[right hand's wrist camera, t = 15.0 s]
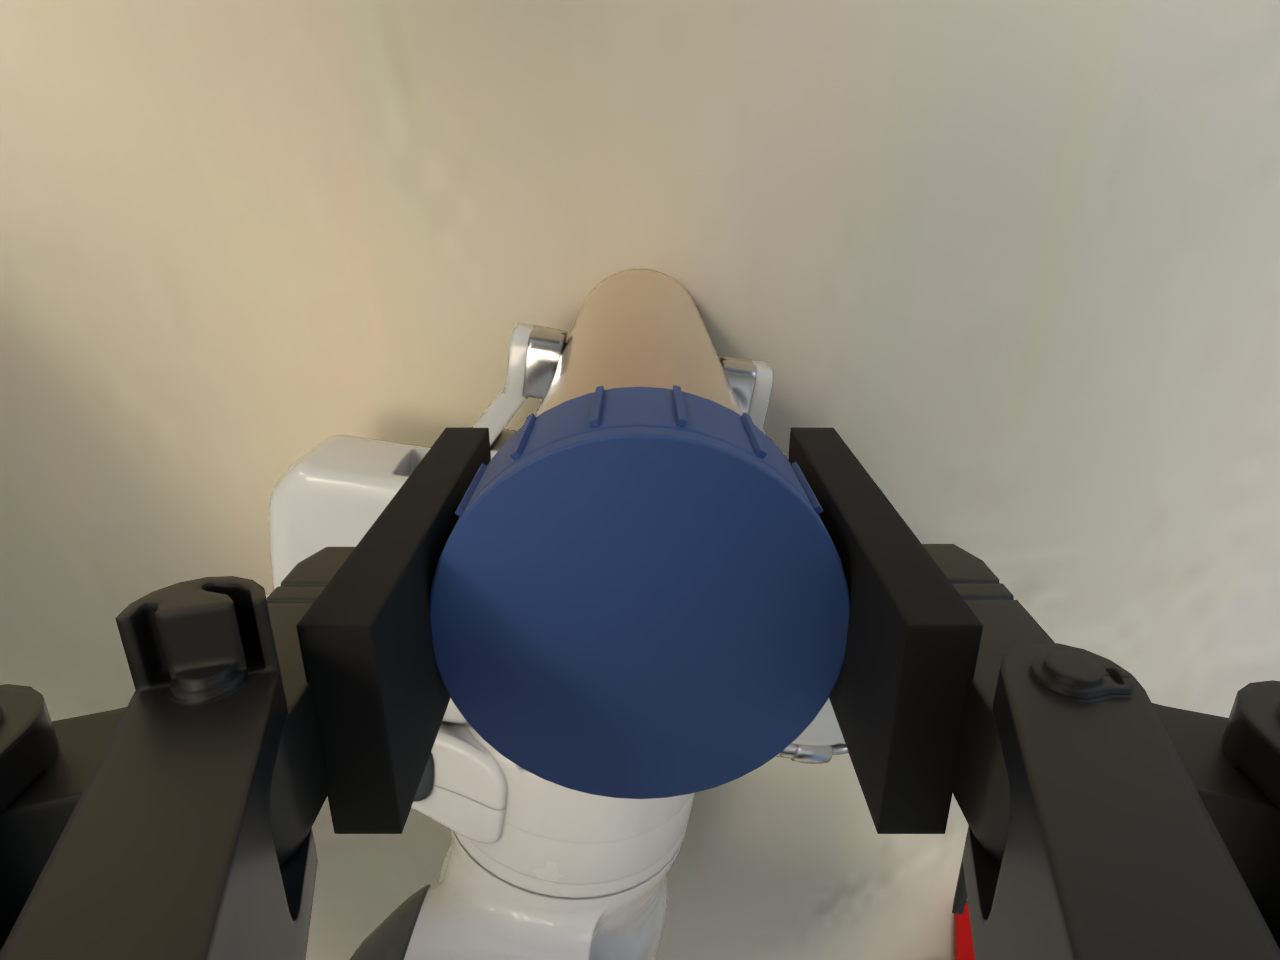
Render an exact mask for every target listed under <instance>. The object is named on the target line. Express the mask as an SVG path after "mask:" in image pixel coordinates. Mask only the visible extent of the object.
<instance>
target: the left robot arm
mask: <svg viewBox="0 0 1280 960" xmlns="http://www.w3.org/2000/svg"><path fill="white" fill-rule="evenodd" d="M567 334H568V332H567V331H564V330H559V329H553V328H547V327H542V326H536V325H532V324H524V323H518V324H517V326H516V327H515V328H514V329H513V334H512V338H511V343H510V349H509V359H508V369H507V379H506V384H505V385H504V387H503V388H502V389H501V391H500V392H499V393H498V395H497V396H496V397H495V399H494V400H493V401H492V402H491V404H490V405H489V406H488V408H487V409H486V410H485V412H484V413H483V414H482V416H481V417H480V418H479V420H478V421H477V422H476V423H475V425H474V426H473V428H489V439H490V453H491V459H492V458H493V457H494V455H495V454H496V453H497V452H498V451H499V450H500V448H501V447H502V446H503V445H504V444H505V442H506V441H507V440H508V439H509V438H511V437H512V436H513V435H514V434H515V433H516V431H513V430H507V429H504V428H505V426H506V425H507V424H508V422H509V421H510V420H511V418H512V417H513V416H514V415H515V413H516V412H517V411H518V409H519V408H520V407H521V405H522V404H523V403H524V402H525V400H526V399H527V397H532V398H540V399H543V397H544V395H545V392H546V390H547V388H548V385H549V383H550V381H551V378H552V376H553V374H554V371H555V369H556V367H557V364H558V362H559V360H560V357H561V355H562V353H563V350H564V348H565V346H566V343H567ZM719 359H720V361H721V364H722V366H723V368H724V371H725V373H726V375H727V378H728V380H729V382H730V385H731V387H732V389H733V392H734V394H735V396H736V399H737V401H738V403H739V406H740V408H741V410H742V413H744V412H745V413H747V414H748V415H750V417H751V419H752V421H753V423H754V425H755V426H756V427H758V428H759V429H760V430H761V431H762V432H763V433H764V434H766V433H765V431H764V429H763V425H764V421H765V416H766V412H767V408H768V403H769V399H770V394H771V390H772V385H773V370H772V368H771V367H770V366H769V364H768V363H767V362H761V361H755V360H749V359H742V358H735V357H728V356H721V355H720V356H719ZM429 450H430V448H427V447H421V446H414V445H407V444H401V443H394V442H388V441H381V440H374V439H368V438H361V437H355V436H348V435H333V436H330V437H328V438H326V439H325V440H323V441H322V442H320V443H319V444H318V445H316V446H315V447H314V448H312V449H311V450H309V451H308V452H307V453H305V454H304V455H303V456H302V457H300V458H299V459H298V460H297V461H296V462H295V463H294V464H293V465H292V466H291V467H290V468H289V469H288V470H287V471H286V472H285V473H284V474H283V475H282V477H281V478H280V479H279V481H278V482H277V484H276V486H275V488H274V490H273V492H272V496H271V501H270V514H269V530H270V552H271V566H272V577H273V585H274V590H275V589H276V588H277V587H281V582H282V581H283V580H284V578H285V577H286V576H287V575H288V574H289V573H290V572H291V570H292V569H293V568H294V567H295V566H296V565H297V564H298V563H299V562H301V561H303V560H304V559H306V558H308V557H310V556H311V555H313V554H315V553H317V552H318V551H320V550H322V549H323V548H325V547H356V546H357V545H358V543H359V542H360V541H361V539H362V538H363V537H364V535H365V534H366V533H367V532H368V530H369V529H370V528H371V526H372V525H373V524H374V522H375V521H376V520H377V518H378V517H379V516H380V514H381V513H382V512H383V510H384V509H385V508H386V506H387V505H388V504H389V503H390V501H391V500H392V499H393V497H394V496H395V495H396V493H397V492H398V491H399V489H400V488H401V487H402V485H403V484H404V483H405V481H406V480H407V479H408V477H409V476H410V475H411V474H412V472H413V471H414V470H415V468H416V467H417V466H418V464H419V463H420V462H421V460H422V459H423V458H424V456H425V455H426V454H427V452H428V451H429ZM844 753H848V749H847V747H846V744H845V741H844V738H843V735H842V733H841V730H840V727H839V724H838V722H837V719H836V716H835V713H834V710H833V708H832V705H831V702H830V699H829V698H828V700H827V702H826V703H825V704H824V706H823V707H822V709H821V710H820V712H819V713H818V715H817V716H816V717H815V719H814V720H813V721H812V722H811V724H810V725H809V726H808V727H807V728H806V729H805V730H804V731H803V732H802V734H801V735H800V736H799V737H798V738H797V739H796V740H795V741H793V742H792V743H791V744H790V745H789V746H788V747H786V748H785V749H784V750H783V751H782V752H781V753H779V754H778V755H776V756H775V757H779V756H780V757H783V758H791V760H792V761H796V762H801V763H808V764H822V763H828V762H829V761H830V760H831V757H832V755H838V754H844ZM694 795H695V793H692V794H686V795H680V796H674V797H668V798H653V799H625V798H612V797H606V796H599V795H592V794H588V793H584V792H580V791H576V790H572V789H569V788H565V787H563V786H560V785H557V784H555V783H552V782H549V781H547V780H544V779H542V778H540V777H538V776H536V775H534V774H532V773H530V772H528V771H526V770H524V769H522V768H521V767H519V766H518V765H516V764H515V763H513V762H512V761H510V760H509V759H507V758H506V757H504V756H503V755H501V754H500V753H499V752H498V751H497V750H495V749H494V748H493V747H492V746H491V745H489V744H488V743H487V742H486V741H485V740H483V738H482V737H481V736H480V735H479V734H478V733H477V732H476V731H475V730H474V729H473V728H472V727H471V726H470V724H469V723H468V722H467V721H466V720H465V718H464V717H463V715H462V714H461V713H460V711H459V710H458V708H457V707H456V706H455V704H454V703H453V701H452V699H451V698H450V701H449V704H448V706H447V709H446V712H445V715H444V717H443V720H442V723H441V726H440V729H439V731H438V734H437V737H436V740H435V742H434V745H433V748H432V751H431V754H430V756H429V759H428V762H427V765H426V767H425V770H424V773H423V776H422V779H421V781H420V784H419V787H418V790H417V792H416V795H415V798H414V801H413V804H412V806H411V808H412V809H414V810H416V811H418V812H420V813H422V814H424V815H425V816H427V817H429V818H431V819H433V820H435V821H437V822H438V823H440V824H442V825H444V826H445V827H447V828H449V829H450V830H451V835H452V844H451V846H450V848H449V850H448V852H447V854H446V857H445V859H444V863H443V867H442V870H441V874H440V878H439V884H438V885H436V886H433V887H432V886H430V884H428V885H427V886H425V887H423V888H422V889H420V890H419V891H417V892H416V893H414V894H413V895H412V896H411V897H409V898H408V899H407V900H406V901H404V902H403V903H402V904H401V905H400V906H399V907H398V908H397V909H396V910H395V911H394V912H393V913H392V914H391V915H390V916H389V917H388V918H386V919H385V920H384V921H383V922H382V923H381V924H380V925H379V926H378V927H377V928H376V929H375V930H374V931H373V932H372V933H371V934H370V935H369V936H368V937H367V938H366V939H365V940H364V941H363V943H362V944H361V945H360V946H359V948H358V949H357V950H356V952H355V953H354V955H353V956H352V958H351V959H350V960H654V959H655V955H656V952H657V948H658V945H659V941H660V937H661V933H662V929H663V925H664V921H665V915H666V908H667V881H666V875H665V874H666V873H667V872H668V871H669V869H670V868H671V866H672V864H673V863H674V861H675V859H676V857H677V855H678V853H679V851H680V848H681V845H682V843H683V840H684V837H685V833H686V828H687V824H688V820H689V816H690V812H691V807H692V803H693V799H694Z"/></svg>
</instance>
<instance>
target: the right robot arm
mask: <svg viewBox="0 0 1280 960" xmlns="http://www.w3.org/2000/svg"><path fill="white" fill-rule="evenodd" d="M490 461H491V453H490V439H489V428H446V429H445V430H444V431H443V433H442V434H441V435H440V437H439V438H438V439H437V441H436V442H435V443H434V445H433V446H432V447H431V448H430V450H429V451H428V452H427V454H426V455H425V456H424V458H423V459H422V460H421V462H420V463H419V464H418V466H417V467H416V468H415V470H414V471H413V472H412V474H411V475H410V476H409V477H408V479H407V480H406V481H405V483H404V484H403V485H402V487H401V488H400V489H399V491H398V492H397V493H396V495H395V496H394V497H393V499H392V500H391V501H390V503H389V504H388V505H387V506H386V508H385V509H384V510H383V512H382V513H381V514H380V516H379V517H378V518H377V520H376V521H375V522H374V524H373V525H372V526H371V528H370V529H369V530H368V532H367V533H366V534H365V535H364V537H363V538H362V539H361V541H360V542H359V543H358V545H357V546H356V547H325V548H323V549H322V550H320V551H318V552H317V553H315V554H313V555H311V556H310V557H308V558H306V559H304V560H303V561H301V562H299V563H298V564H297V565H296V566H295V567H294V568H293V569H292V570H291V572H290V573H289V574H288V575H287V576H286V577H285V578H284V580H283V581H282V582H281V587H277V588H276V589H275V590H274V591H273V592H272V593H271V594H270V596H269V597H268V598H267V601H266V596H265V591H264V588H263V587H262V586H260V585H259V584H257V583H256V582H255V581H253V580H249V579H244V578H239V577H233V576H229V577H206V578H201V579H196V580H191V581H186V582H180V583H177V584H174V585H171V586H168V587H166V588H163V589H160V590H157V591H154V592H152V593H150V594H148V595H146V596H144V597H142V598H141V599H139V600H137V601H135V602H133V603H132V604H130V605H129V606H128V607H127V608H126V609H125V610H124V611H123V612H121V613H120V614H119V615H118V616H117V617H116V622H117V625H118V629H119V632H120V636H121V639H122V643H123V647H124V650H125V654H126V657H127V661H128V664H129V668H130V671H131V675H132V678H133V682H134V686H135V689H136V691H135V693H134V695H133V697H132V699H131V701H130V703H129V704H128V706H127V707H125V708H120V709H116V710H111V711H106V712H101V713H96V714H90V715H85V716H80V717H75V718H69V719H64V720H59V721H53V722H51V719H50V716H49V713H48V710H47V707H46V704H45V701H44V698H43V695H42V694H40V693H39V692H37V691H36V690H34V689H33V688H31V687H27V686H18V685H10V684H7V685H0V960H305V958H306V950H307V942H308V934H309V926H310V918H311V910H312V902H313V894H314V886H315V878H316V870H317V862H318V861H317V854H316V848H315V842H314V837H313V832H312V825H313V823H314V821H315V819H316V817H317V815H318V813H319V811H320V809H321V807H322V805H323V803H324V801H325V799H326V797H327V795H328V800H329V806H330V811H331V816H332V822H333V827H334V833H335V834H402V831H403V829H404V826H405V823H406V820H407V817H408V815H409V812H410V809H411V806H412V804H413V801H414V798H415V795H416V792H417V790H418V787H419V784H420V781H421V779H422V776H423V773H424V770H425V767H426V765H427V762H428V759H429V756H430V754H431V751H432V748H433V745H434V742H435V740H436V737H437V734H438V731H439V729H440V726H441V723H442V720H443V717H444V715H445V712H446V709H447V706H448V704H449V701H450V698H451V697H450V695H449V693H448V691H447V689H446V687H445V686H444V684H443V682H442V679H441V676H440V673H439V671H438V668H437V665H436V662H435V655H434V646H433V638H432V629H431V619H430V609H429V602H430V593H431V585H432V582H433V578H434V574H435V570H436V567H437V563H438V561H439V558H440V556H441V554H442V552H443V549H444V547H445V545H446V543H447V540H448V538H449V536H450V534H451V532H452V531H453V529H454V527H455V525H456V523H457V521H458V519H459V517H460V516H458V515H456V514H455V512H456V510H457V508H458V506H459V504H460V503H461V501H462V499H463V497H464V495H465V493H466V492H467V490H468V488H469V486H470V484H471V482H472V480H473V479H474V477H475V475H476V473H477V471H478V469H479V468H480V466H481V464H484V465H486V466H488V464H489V462H490ZM788 461H789V462H790V464H792V463H794V462H797V464H798V465H799V467H800V469H801V471H802V473H803V474H804V476H805V478H806V480H807V482H808V484H809V485H810V487H811V489H812V491H813V493H814V495H815V496H816V498H817V500H818V502H819V504H820V506H821V507H822V509H823V512H821V513H820V514H819V516H820V518H821V520H822V522H823V524H824V526H825V528H826V529H827V531H828V533H829V535H830V537H831V539H832V541H833V544H834V546H835V548H836V550H837V552H838V555H839V557H840V559H841V561H842V565H843V569H844V572H845V576H846V579H847V583H848V589H849V597H850V613H849V623H848V632H847V641H846V649H845V658H844V663H843V666H842V669H841V672H840V675H839V678H838V680H837V682H836V684H835V686H834V688H833V690H832V692H831V694H830V696H829V699H830V702H831V705H832V708H833V710H834V713H835V716H836V719H837V722H838V724H839V727H840V730H841V733H842V735H843V738H844V741H845V744H846V747H847V749H848V752H849V755H850V758H851V760H852V763H853V766H854V769H855V772H856V774H857V777H858V780H859V783H860V785H861V788H862V791H863V794H864V797H865V799H866V802H867V805H868V808H869V810H870V813H871V816H872V819H873V822H874V824H875V827H876V830H877V833H878V834H945V830H946V825H947V819H948V814H949V808H950V803H951V798H952V792H953V794H954V796H955V798H956V800H957V802H958V804H959V806H960V808H961V810H962V812H963V814H964V816H965V818H966V820H967V822H968V824H969V827H968V832H967V837H966V842H965V847H964V852H963V857H962V862H961V867H960V872H959V877H958V882H957V887H956V892H955V898H954V904H953V911H952V913H956V914H961V915H963V912H964V908H965V903H966V899H967V900H968V908H969V916H970V924H971V932H972V940H973V948H974V956H975V960H1280V681H1264V682H1256V683H1250V684H1248V685H1247V686H1245V687H1244V688H1242V689H1241V690H1239V691H1238V693H1237V696H1236V699H1235V702H1234V705H1233V708H1232V711H1231V714H1230V717H1229V718H1225V717H1219V716H1214V715H1209V714H1203V713H1198V712H1193V711H1187V710H1182V709H1177V708H1171V707H1166V706H1162V705H1158V704H1154V703H1151V701H1150V699H1149V697H1148V695H1147V693H1146V691H1145V690H1144V688H1143V687H1142V686H1141V685H1140V684H1139V682H1138V681H1137V680H1136V679H1135V678H1134V677H1133V675H1132V674H1131V673H1129V672H1128V671H1126V670H1124V669H1123V668H1121V667H1120V666H1118V665H1117V664H1115V663H1114V662H1112V661H1111V660H1109V659H1106V658H1104V657H1101V656H1099V655H1096V654H1094V653H1092V652H1089V651H1087V650H1084V649H1080V648H1075V647H1071V646H1066V645H1062V644H1058V643H1055V642H1054V641H1053V640H1052V639H1051V638H1050V637H1049V636H1048V635H1047V633H1046V632H1045V631H1044V630H1043V629H1042V628H1041V627H1040V625H1039V624H1038V623H1037V622H1036V621H1035V620H1034V619H1033V618H1032V616H1031V615H1030V614H1029V613H1028V612H1027V611H1026V610H1025V609H1024V607H1023V606H1022V605H1021V604H1020V603H1019V602H1018V601H1017V600H1014V599H1013V595H1012V594H1011V593H1010V592H1009V590H1008V589H1007V588H1006V587H1005V586H1004V585H1003V584H999V579H998V578H997V577H996V576H995V575H994V573H993V572H992V571H991V570H990V569H989V568H988V567H987V565H986V564H985V563H984V562H983V561H982V560H980V559H979V558H977V557H975V556H973V555H972V554H970V553H968V552H966V551H965V550H963V549H961V548H959V547H958V546H956V545H954V544H921V543H920V541H919V540H918V539H917V537H916V536H915V535H914V534H913V532H912V531H911V530H910V528H909V527H908V526H907V524H906V523H905V522H904V520H903V519H902V518H901V516H900V515H899V514H898V512H897V511H896V510H895V508H894V507H893V506H892V505H891V503H890V502H889V501H888V499H887V498H886V497H885V495H884V494H883V493H882V491H881V490H880V489H879V487H878V486H877V485H876V483H875V482H874V481H873V479H872V478H871V477H870V476H869V474H868V473H867V472H866V470H865V469H864V468H863V466H862V465H861V464H860V462H859V461H858V460H857V458H856V457H855V456H854V454H853V453H852V452H851V450H850V449H849V448H848V447H847V445H846V444H845V443H844V441H843V440H842V439H841V437H840V436H839V435H838V433H837V432H836V431H835V429H834V428H791V432H790V446H789V460H788Z"/></svg>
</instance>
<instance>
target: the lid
mask: <svg viewBox="0 0 1280 960" xmlns="http://www.w3.org/2000/svg"><path fill="white" fill-rule="evenodd" d="M821 512H823V509H822V507H821V506H820V504H819V502H818V500H817V498H816V496H815V495H814V493H813V491H812V489H811V487H810V485H809V484H808V482H807V480H806V478H805V476H804V474H803V473H802V471H801V469H800V467H799V465H798V464H797V462H794V463H792V464H790V462H789V461H788V459H787V457H786V456H785V455H784V454H783V452H782V451H781V450H780V449H779V448H778V447H777V446H776V444H775V443H774V442H773V441H772V440H771V439H770V438H769V437H768V436H767V435H766V434H764V433H763V432H762V431H761V430H760V429H759V428H758V427H756V426H755V425H754V423H753V421H752V419H751V417H750V415H748V414H747V413H745V412H744V413H743V414H742V416H741V415H739V414H738V413H736V412H734V411H733V410H731V409H729V408H727V407H724V406H722V405H720V404H718V403H716V402H714V401H712V400H709V399H706V398H703V397H700V396H697V395H694V394H691V393H687V392H682V391H681V387H680V386H675V385H673V389H672V390H671V389H666V388H655V387H625V388H613V389H608V390H604V386H599V387H596V391H595V392H593V393H588V394H585V395H582V396H579V397H577V398H574V399H571V400H568V401H565V402H563V403H561V404H559V405H557V406H555V407H553V408H551V409H549V410H547V411H545V412H543V413H542V414H540V415H539V416H537V417H535V415H534V414H531V415H530V416H528V417H527V419H526V421H525V423H524V426H523V427H522V428H521V429H519V430H518V431H517V432H516V433H515V434H514V435H513V436H512V437H511V438H509V439H508V440H507V441H506V442H505V444H504V445H503V446H502V447H501V448H500V450H499V451H498V452H497V453H496V454H495V455H494V457H493V458H492V459H491V461H490V462H489V464H488V466H486V465H484V464H481V466H480V468H479V469H478V471H477V473H476V475H475V477H474V479H473V480H472V482H471V484H470V486H469V488H468V490H467V492H466V493H465V495H464V497H463V499H462V501H461V503H460V504H459V506H458V508H457V510H456V512H455V514H456V515H458V516H460V517H459V519H458V521H457V523H456V525H455V527H454V529H453V531H452V532H451V534H450V536H449V538H448V540H447V543H446V545H445V547H444V549H443V552H442V554H441V556H440V558H439V561H438V563H437V567H436V570H435V574H434V578H433V582H432V585H431V593H430V602H429V609H430V619H431V629H432V638H433V646H434V655H435V662H436V665H437V668H438V671H439V673H440V676H441V679H442V682H443V684H444V686H445V687H446V689H447V691H448V693H449V695H450V697H451V699H452V701H453V703H454V704H455V706H456V707H457V708H458V710H459V711H460V713H461V714H462V715H463V717H464V718H465V720H466V721H467V722H468V723H469V724H470V726H471V727H472V728H473V729H474V730H475V731H476V732H477V733H478V734H479V735H480V736H481V737H482V738H483V740H485V741H486V742H487V743H488V744H489V745H491V746H492V747H493V748H494V749H495V750H497V751H498V752H499V753H500V754H501V755H503V756H504V757H506V758H507V759H509V760H510V761H512V762H513V763H515V764H516V765H518V766H519V767H521V768H522V769H524V770H526V771H528V772H530V773H532V774H534V775H536V776H538V777H540V778H542V779H544V780H547V781H549V782H552V783H555V784H557V785H560V786H563V787H565V788H569V789H572V790H576V791H580V792H584V793H588V794H592V795H599V796H606V797H612V798H625V799H653V798H668V797H674V796H680V795H686V794H692V793H695V792H699V791H703V790H707V789H710V788H714V787H717V786H719V785H722V784H724V783H727V782H730V781H732V780H735V779H737V778H739V777H741V776H743V775H745V774H747V773H749V772H751V771H753V770H755V769H757V768H759V767H760V766H762V765H763V764H765V763H766V762H768V761H769V760H771V759H772V758H774V757H775V756H776V755H778V754H779V753H781V752H782V751H783V750H784V749H785V748H786V747H788V746H789V745H790V744H791V743H792V742H793V741H795V740H796V739H797V738H798V737H799V736H800V735H801V734H802V732H803V731H804V730H805V729H806V728H807V727H808V726H809V725H810V724H811V722H812V721H813V720H814V719H815V717H816V716H817V715H818V713H819V712H820V710H821V709H822V707H823V706H824V704H825V703H826V702H827V700H828V698H829V696H830V694H831V692H832V690H833V688H834V686H835V684H836V682H837V680H838V678H839V675H840V672H841V669H842V666H843V663H844V658H845V649H846V641H847V632H848V623H849V613H850V597H849V589H848V583H847V579H846V576H845V572H844V569H843V565H842V561H841V559H840V557H839V555H838V552H837V550H836V548H835V546H834V544H833V541H832V539H831V537H830V535H829V533H828V531H827V529H826V528H825V526H824V524H823V522H822V520H821V518H820V516H819V514H820V513H821Z"/></svg>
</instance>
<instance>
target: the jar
mask: <svg viewBox="0 0 1280 960" xmlns="http://www.w3.org/2000/svg"><path fill="white" fill-rule="evenodd" d="M673 385H675V386H680V387H681V391H682V392H687V393H691V394H694V395H697V396H700V397H703V398H706V399H709V400H712V401H714V402H716V403H718V404H720V405H722V406H724V407H727V408H729V409H731V410H733V411H734V412H736V413H738V414H739V415H741V416H742V414H743V413H742V410H741V408H740V406H739V403H738V401H737V399H736V396H735V394H734V392H733V389H732V387H731V385H730V382H729V380H728V378H727V375H726V373H725V371H724V368H723V366H722V364H721V361H720V359H719V357H718V354H717V352H716V350H715V347H714V345H713V343H712V340H711V338H710V336H709V333H708V331H707V329H706V326H705V324H704V322H703V320H702V317H701V315H700V313H699V310H698V308H697V306H696V304H695V302H694V300H693V298H692V297H691V295H690V294H689V293H688V292H687V290H686V289H685V288H684V287H683V286H682V285H681V284H679V283H678V282H677V281H675V280H674V279H672V278H671V277H669V276H667V275H665V274H662V273H659V272H657V271H652V270H645V269H634V270H627V271H622V272H620V273H617V274H614V275H612V276H610V277H608V278H607V279H605V280H604V281H602V282H601V283H600V284H599V285H597V286H596V287H595V288H594V289H593V291H592V292H591V293H590V294H589V295H588V297H587V299H586V300H585V302H584V304H583V306H582V308H581V311H580V313H579V315H578V318H577V320H576V322H575V325H574V327H573V329H572V332H571V334H570V336H569V339H568V341H567V343H566V346H565V348H564V350H563V353H562V355H561V357H560V360H559V362H558V364H557V367H556V369H555V371H554V374H553V376H552V378H551V381H550V383H549V385H548V388H547V390H546V392H545V395H544V397H543V399H542V402H541V404H540V406H539V409H538V411H537V413H536V416H535V417H537V416H539V415H540V414H542V413H543V412H545V411H547V410H549V409H551V408H553V407H555V406H557V405H559V404H561V403H563V402H565V401H568V400H571V399H574V398H577V397H579V396H582V395H585V394H588V393H593V392H595V391H596V387H599V386H604V390H608V389H613V388H625V387H655V388H666V389H671V390H672V389H673Z"/></svg>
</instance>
